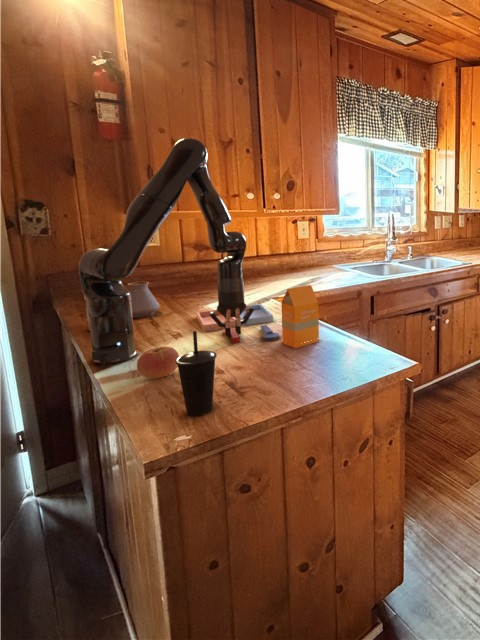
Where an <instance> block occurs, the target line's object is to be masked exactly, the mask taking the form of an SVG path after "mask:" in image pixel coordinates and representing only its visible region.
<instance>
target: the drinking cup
mask: <svg viewBox="0 0 480 640" xmlns="http://www.w3.org/2000/svg"><path fill="white" fill-rule="evenodd" d="M197 333H198V331H197V330H193V331H192V339H193V351H190V352H187V353H185V354H183V355H179V358H177V359H176V361H175V363H176V364H177V365H178V366H177V371H178V375H179V380H180V385H181V390H182V395H183V400H184V405H185V411H186V415H187V416H188V417H201V416H203V415H207V414H209V413H210V412H211V411H212V410H213V404H214V403H213V402H214V388H215V387H214V386H215V368H216V367H215V366H216V358H217V357H218V355H217V353H216V352H215V351H210V350H198V349H199V347H198V346H199V345H198V334H197Z"/></svg>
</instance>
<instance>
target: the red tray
mask: <svg viewBox="0 0 480 640" xmlns="http://www.w3.org/2000/svg"><path fill="white" fill-rule="evenodd" d="M215 310H216V309H213V310H211V309H210V310H205V311H197V312H196V320H197V321H198V323H199V325H200V327H201V329H202V331H203V332H204V333H206V332H212V331H219V330H225V328H224V327H219V325H218V324H217V323H216V322H215V321H214V320H213V319H212V318H211V316H210V315H209V313H210V312H213V311H215ZM217 318H218V319H219V320H220V321H221V322H222V323H224V322H225V320H224V316H223V315H222V314H221V313H219V312H218V317H217ZM235 325H236V323H235V317H232V318H230V328H235Z"/></svg>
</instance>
